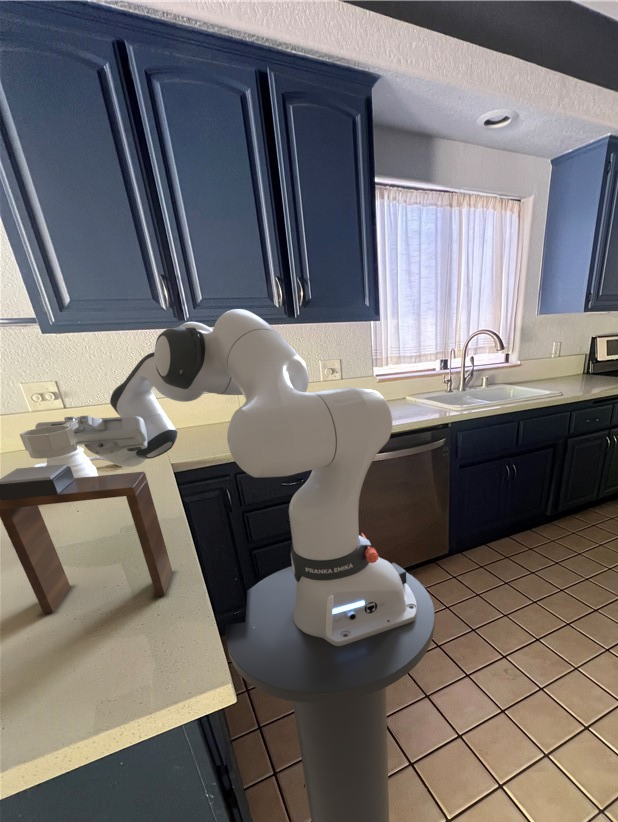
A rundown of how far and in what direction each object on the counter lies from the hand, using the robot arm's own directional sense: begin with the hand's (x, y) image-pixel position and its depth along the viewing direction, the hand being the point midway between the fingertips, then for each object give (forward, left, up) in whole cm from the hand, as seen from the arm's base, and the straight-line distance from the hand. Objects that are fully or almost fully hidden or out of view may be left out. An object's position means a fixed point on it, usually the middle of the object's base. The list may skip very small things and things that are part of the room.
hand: (76, 419), depth 86 cm
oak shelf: (-5, +20, -29) cm, 36 cm away
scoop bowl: (0, +7, -3) cm, 7 cm away
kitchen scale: (0, +21, -7) cm, 22 cm away
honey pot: (+23, -44, -29) cm, 58 cm away
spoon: (+27, -65, -29) cm, 76 cm away
